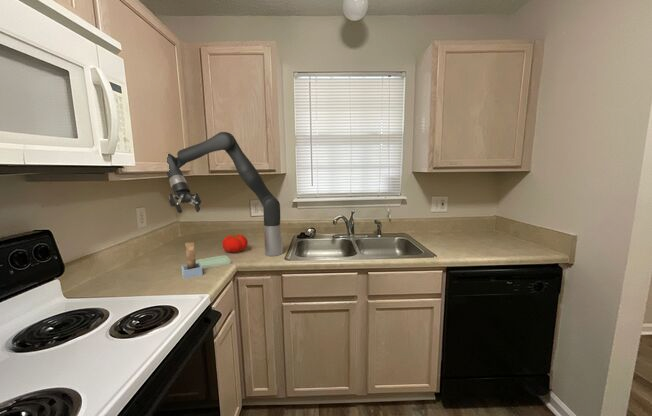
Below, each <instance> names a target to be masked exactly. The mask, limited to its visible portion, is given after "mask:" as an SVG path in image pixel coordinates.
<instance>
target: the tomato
mask: <svg viewBox="0 0 652 416" xmlns="http://www.w3.org/2000/svg"><path fill="white" fill-rule="evenodd" d="M221 243H222V245H221V246H222V249H223V250H224V251H226V252H227V253H233V254H235V253H238V252H243V251H244V250H245V249H247V246H248V243H249V242H248V238H246V236H244V235H243V234H240V233H236V234H233V235H232V234H230V235H227V236H226V237H225V238H223V240H222V242H221Z"/></svg>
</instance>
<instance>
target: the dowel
mask: <svg viewBox="0 0 652 416" xmlns="http://www.w3.org/2000/svg"><path fill="white" fill-rule="evenodd" d="M184 245H185V255H186V265H187V269H194V268H196V260H197V259H196V251H195V242H194V241H187V242H185V244H184Z"/></svg>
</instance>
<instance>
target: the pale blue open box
mask: <svg viewBox="0 0 652 416" xmlns="http://www.w3.org/2000/svg"><path fill="white" fill-rule="evenodd" d="M180 267H181V274H182V278H183V280H185V279H189V278H190V279H191V278H195V277H199V276H200V277H201V276H203V272H204V271H203V269H202V266H201V264H200V263H196V268H194V269H187V264H184V265H181V266H180Z"/></svg>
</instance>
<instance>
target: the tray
mask: <svg viewBox="0 0 652 416" xmlns="http://www.w3.org/2000/svg"><path fill="white" fill-rule="evenodd" d="M195 260H196V263H200V264H201V266H202V270H203V269H204V270H205V269H210V268H214V267H220V266H225V265H230V264H232V259H230V257H228V256H227V254H224V255H218V256H217V255H216V256H211V257H206V258H200V259H195Z"/></svg>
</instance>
